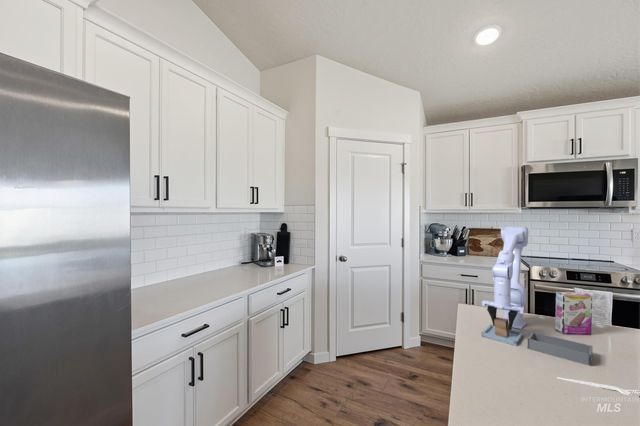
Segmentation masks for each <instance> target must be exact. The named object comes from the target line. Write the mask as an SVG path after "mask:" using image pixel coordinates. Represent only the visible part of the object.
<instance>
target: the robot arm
mask: <svg viewBox="0 0 640 426" xmlns="http://www.w3.org/2000/svg"><path fill="white" fill-rule="evenodd" d="M500 237H501V240H502V242H503V250H500V251H499V252H498V256H497V259H496V263H495V264H493V265H492V268H491V274H492V282H493V288H494V289H493V294H494V295H493V301H492V300H485V299H484V300H482V301H481V306H482V307H487V308H486V309H487V312H488V314H489V316H490V318H491V322H492V325H493V326H495V324H494V320H495V319H496V318H497V312H498V311H497V309H499V310H502V318H504V319H508V325H509V327H508V328H509V330H513V328H514V329H519V330H522V329H523V328H524V327H525V325H526V322H525V321H524V314H525V308H524V307H525V306H526V305H527V302H528V300H527V299H528V296H527V289H526V288H525V286H523V285H522V284H521V283H520V279H521V277H520V276H521V263H522V253H523V252H522V251H523V249H524V247H528V243H529V228H528V226H511V225H510V226H508V225H506V226H505V225H503V226H501V228H500Z"/></svg>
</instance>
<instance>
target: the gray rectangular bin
mask: <svg viewBox="0 0 640 426" xmlns="http://www.w3.org/2000/svg"><path fill="white" fill-rule="evenodd" d="M527 349H529V350H531V351H535V352H538V353H542V354H547V355H551V356H554V357H558V358H561V359H564V360H568V361H571V362H575V363H579V364H582V365H587V366H589V367H591V366H592V362H593V354H594V353H593V352H594V351H593V349H594V347H593V345H589V344H585V343H581V342H576V341H573V340H569V339H564V338H560V337H556V336H553V335H547V334H543V333H540V332H534V331H531V333H530V335H529V336H528V337H527Z"/></svg>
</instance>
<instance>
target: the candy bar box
mask: <svg viewBox="0 0 640 426" xmlns="http://www.w3.org/2000/svg"><path fill="white" fill-rule="evenodd" d="M592 313H593V296H592V295H591V294H588V293H584V292H575V291H574V292H571V291H568V292H567V291H555V321H554V322H555V323H554V327H555V328H554V329H555V330H556V331H557V332H559V333H561V334H563V335H581V336H582V335H583V336H585V335H586V336H591V335H592V325H593V324H592V319H593V317H592V316H593V314H592Z"/></svg>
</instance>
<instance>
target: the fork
mask: <svg viewBox="0 0 640 426" xmlns="http://www.w3.org/2000/svg"><path fill="white" fill-rule="evenodd" d="M556 378H557V380H563V381H568V382H572V383H578V384H583V385H587V386H590V387H595V388H602V389H607V390H613V391H617V392H619V393H621V394H623V395H625V396H629V394H630V393H631V392H628V391H633V392H634V391H635V392H634V393H637V394H638V393H640V392H636V391H639V390H640V389H635V390H633V389H623V388H621V387H618V386H614V385H610V384H609V385H608V384H604V383H603V384H601V383H595V382H589V381H585V380H584V381H583V380H576V379H571V378H564V377H559V376H558V377H556ZM633 392H632V393H633Z"/></svg>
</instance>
